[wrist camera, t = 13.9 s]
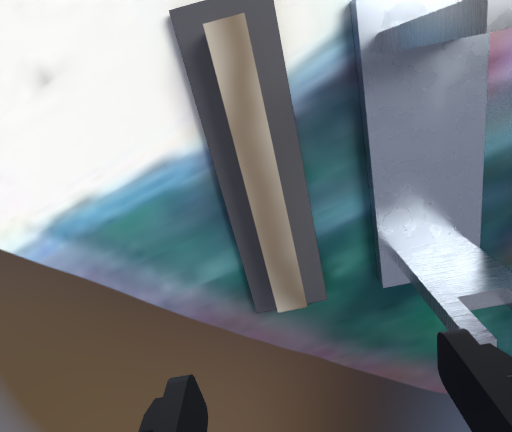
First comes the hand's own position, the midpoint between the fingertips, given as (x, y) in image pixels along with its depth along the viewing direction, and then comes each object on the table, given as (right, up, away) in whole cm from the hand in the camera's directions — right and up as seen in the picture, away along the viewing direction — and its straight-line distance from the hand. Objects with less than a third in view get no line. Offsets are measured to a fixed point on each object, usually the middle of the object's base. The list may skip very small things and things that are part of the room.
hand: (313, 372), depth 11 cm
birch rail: (-1, +8, +20) cm, 21 cm away
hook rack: (+14, +11, +20) cm, 26 cm away
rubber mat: (-1, +9, +21) cm, 22 cm away
